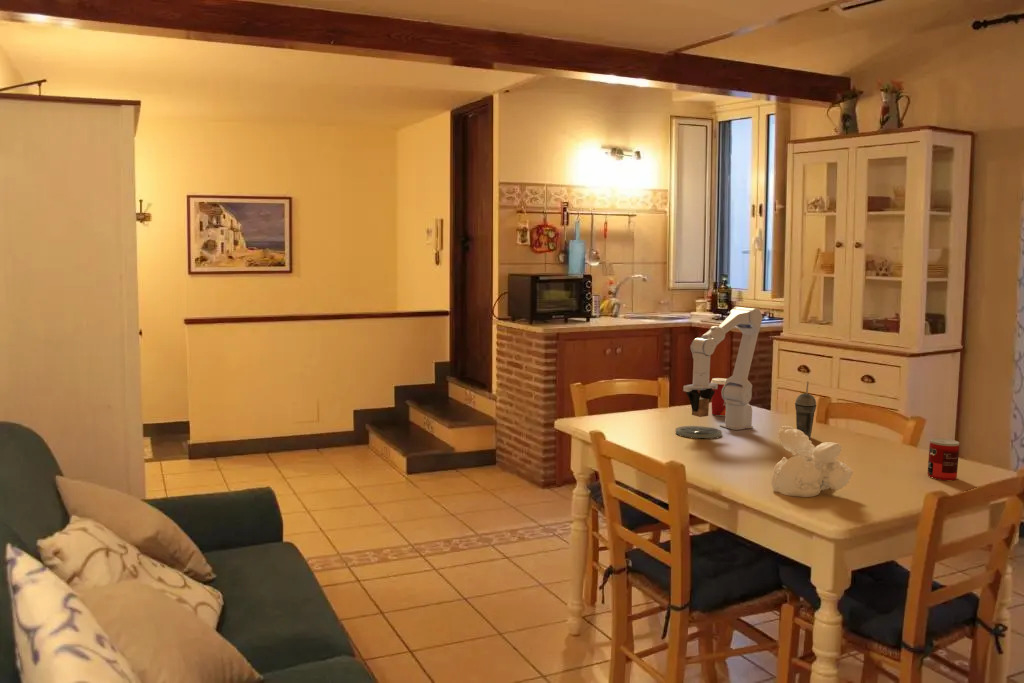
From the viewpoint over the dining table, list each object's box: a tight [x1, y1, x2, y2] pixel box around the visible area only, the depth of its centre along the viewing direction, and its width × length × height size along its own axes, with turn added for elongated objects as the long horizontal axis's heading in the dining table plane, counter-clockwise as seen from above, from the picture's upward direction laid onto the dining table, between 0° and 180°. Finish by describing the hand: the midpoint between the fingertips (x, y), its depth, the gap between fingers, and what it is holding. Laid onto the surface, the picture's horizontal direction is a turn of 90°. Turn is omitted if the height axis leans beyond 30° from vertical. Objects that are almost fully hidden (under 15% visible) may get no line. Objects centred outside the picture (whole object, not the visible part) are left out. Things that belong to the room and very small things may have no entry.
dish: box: [675, 425, 723, 439], centre depth 321 cm, size 16×16×1 cm
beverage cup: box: [794, 381, 817, 439], centre depth 318 cm, size 7×7×20 cm
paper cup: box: [710, 377, 728, 416], centre depth 356 cm, size 8×8×14 cm
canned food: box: [927, 437, 960, 481], centre depth 269 cm, size 8×8×11 cm
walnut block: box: [691, 396, 710, 418], centre depth 320 cm, size 4×4×6 cm
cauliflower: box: [771, 424, 854, 498], centre depth 251 cm, size 19×20×20 cm
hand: (699, 410), depth 320 cm, fingers closed on walnut block, 4 cm apart
